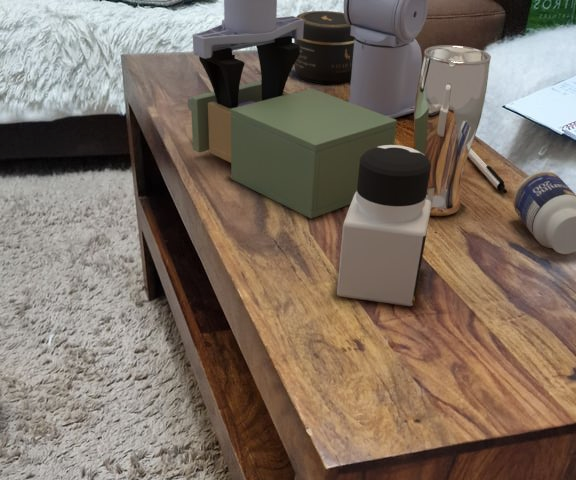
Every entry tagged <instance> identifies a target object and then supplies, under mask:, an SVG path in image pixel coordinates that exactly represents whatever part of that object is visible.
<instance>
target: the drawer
mask: <svg viewBox="0 0 576 480" xmlns="http://www.w3.org/2000/svg"><path fill="white" fill-rule="evenodd" d="M287 94H290V93H289V92H286V91H285V90H284V91H283V95H287ZM283 95H282V96H283ZM248 101H253V102H259V101H262V83H261V80H257V81H253V82H248V83H243V84H240V85H239V93H238V104H240V103H244V102H248ZM186 104H187V107H188V109H189V111H191V131H192V150H193V151H195V152H197V153H202V152H206V151H208V152H209V153H210V154H212V155H214V156H216V157H218V158H220V159H222V160H224V161H226V162H228V163H230V164H231V109H229V108H227V107H225V106H222V105H220V104H218V103H217V100H216V96H215V93H214V91H209V92H206V93H200V94H197V95H193V96H190V97H188V99H187V103H186Z"/></svg>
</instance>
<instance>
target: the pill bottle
mask: <svg viewBox="0 0 576 480" xmlns="http://www.w3.org/2000/svg"><path fill="white" fill-rule="evenodd" d="M513 208H514V211H515V213H516V215H517V216H518V217H519V219H520V220H521V221H522V223H523V224H524V226H525V227H526V228H527V229H528V230H529V232H530V233H531V235H532V236H533V237H534V239H535V240H536V241H537V242H538V243H539V245H541V246H543V247H545V248H548V249H553V250H554V251H555V253H558V254H561V255H568V254H573V253H575V252H576V193H575V192H574V191H573V190H572V189H571V188H570V187H569V185H568V184H566V183H565V181H564V180H563V179H562V178H560V176H559V175H558V174H556V173H554V172H553V171H549V170H539V171H537V172H534V173H530V174H529V175H528V176H527V177H525V178H524V179H523V180H522V181H521V183H520V184H519V185H518V187H517V189H516V190H515V193H514V196H513Z"/></svg>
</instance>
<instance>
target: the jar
mask: <svg viewBox="0 0 576 480" xmlns="http://www.w3.org/2000/svg"><path fill="white" fill-rule="evenodd" d="M296 17H297V18H300V19H304V30H303V39H298V40H296V39H293V43H295V44H298V45H300V55H299V57H298V58H297V60H296V62H295V63H294V65H293V67H294V71H295V73H296V74H297V76H298V78H300V79H302V80H304V81H307V82H311V83H314V84H323V85H329V84H330V85H336V84H343V83H346V82H349V81H351V73H352V62H353V51H354V39H355V37H353V36H351V35H350V31H351V27H349V26H348V24H347V23H346V20H345V17H344V12H341V11H333V10H332V11H331V10H312V11H306V12H301V13H299V14H298V15H297V16H296Z"/></svg>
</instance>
